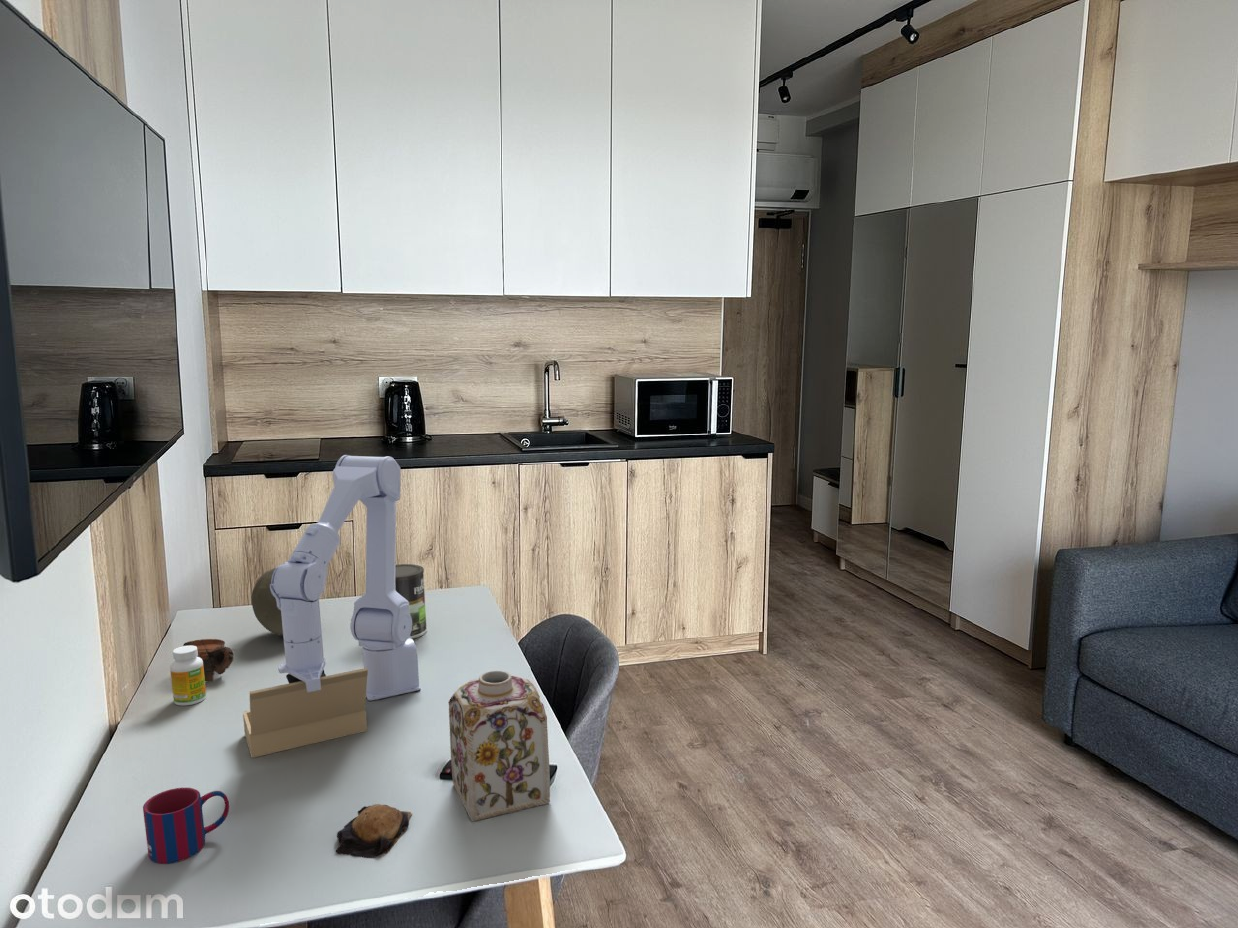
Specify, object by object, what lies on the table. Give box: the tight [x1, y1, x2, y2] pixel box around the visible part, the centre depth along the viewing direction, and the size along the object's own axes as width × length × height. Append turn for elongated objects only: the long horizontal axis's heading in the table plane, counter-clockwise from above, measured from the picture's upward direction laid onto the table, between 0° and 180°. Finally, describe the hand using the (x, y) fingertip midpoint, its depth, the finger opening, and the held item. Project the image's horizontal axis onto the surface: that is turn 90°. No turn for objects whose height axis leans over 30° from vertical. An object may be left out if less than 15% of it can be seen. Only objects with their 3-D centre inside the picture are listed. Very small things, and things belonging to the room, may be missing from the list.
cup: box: [142, 787, 230, 865], centre depth 117 cm, size 7×10×7 cm
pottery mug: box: [182, 638, 235, 683], centre depth 174 cm, size 12×10×8 cm
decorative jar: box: [448, 670, 551, 822], centre depth 128 cm, size 12×12×18 cm
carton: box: [242, 708, 368, 759], centre depth 149 cm, size 18×9×4 cm, turn 119°
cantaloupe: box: [251, 567, 283, 637], centre depth 194 cm, size 14×14×15 cm
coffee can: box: [395, 563, 428, 640], centre depth 194 cm, size 10×10×14 cm
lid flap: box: [249, 667, 368, 736], centre depth 142 cm, size 18×10×1 cm
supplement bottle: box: [169, 645, 207, 707], centre depth 162 cm, size 5×5×10 cm
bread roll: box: [334, 803, 413, 859], centre depth 120 cm, size 11×8×4 cm
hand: (309, 715), depth 144 cm, fingers closed, pressing on lid flap
